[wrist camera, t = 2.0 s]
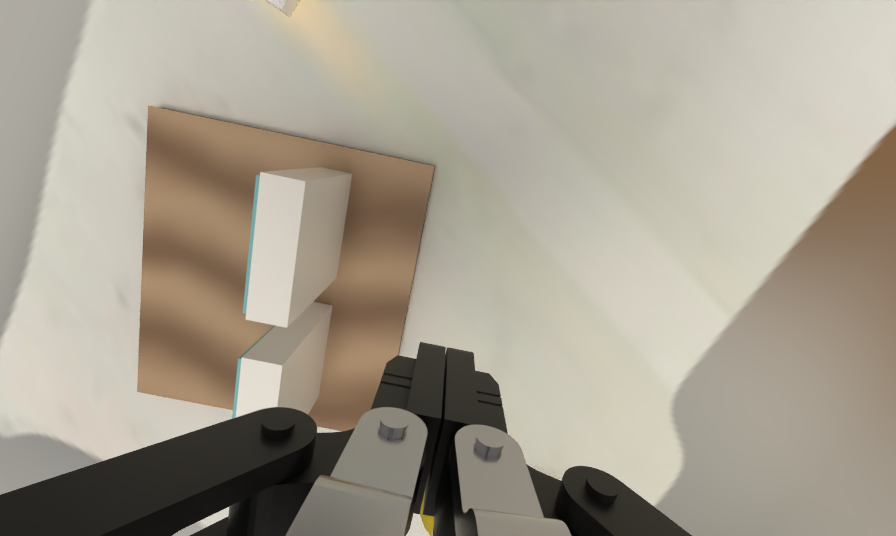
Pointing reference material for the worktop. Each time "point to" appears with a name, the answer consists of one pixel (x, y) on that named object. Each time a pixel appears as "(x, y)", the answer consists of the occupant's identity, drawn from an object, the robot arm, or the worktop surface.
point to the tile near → (294, 241)
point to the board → (226, 256)
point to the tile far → (284, 365)
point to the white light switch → (284, 5)
